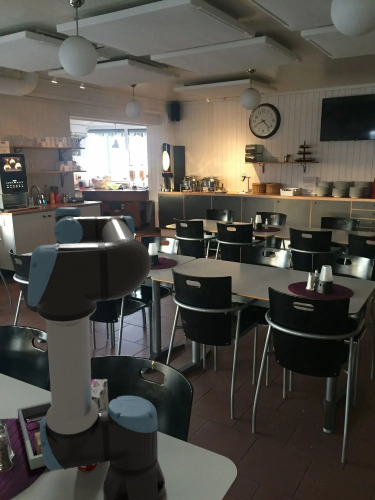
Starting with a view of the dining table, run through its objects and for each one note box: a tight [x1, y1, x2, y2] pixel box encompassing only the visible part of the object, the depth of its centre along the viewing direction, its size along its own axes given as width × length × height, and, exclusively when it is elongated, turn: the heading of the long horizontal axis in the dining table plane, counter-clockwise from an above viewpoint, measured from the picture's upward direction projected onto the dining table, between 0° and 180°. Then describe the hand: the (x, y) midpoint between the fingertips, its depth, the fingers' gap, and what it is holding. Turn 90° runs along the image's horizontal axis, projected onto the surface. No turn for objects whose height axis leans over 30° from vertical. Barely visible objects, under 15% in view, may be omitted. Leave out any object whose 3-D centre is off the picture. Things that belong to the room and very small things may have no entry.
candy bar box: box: [91, 378, 109, 409], centre depth 125 cm, size 11×5×16 cm, turn 179°
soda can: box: [76, 463, 98, 474], centre depth 113 cm, size 5×5×12 cm
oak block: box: [34, 431, 42, 455], centre depth 120 cm, size 6×6×5 cm
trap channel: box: [17, 400, 52, 471], centre depth 127 cm, size 28×11×3 cm, turn 28°
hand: (73, 330), depth 135 cm, fingers closed
